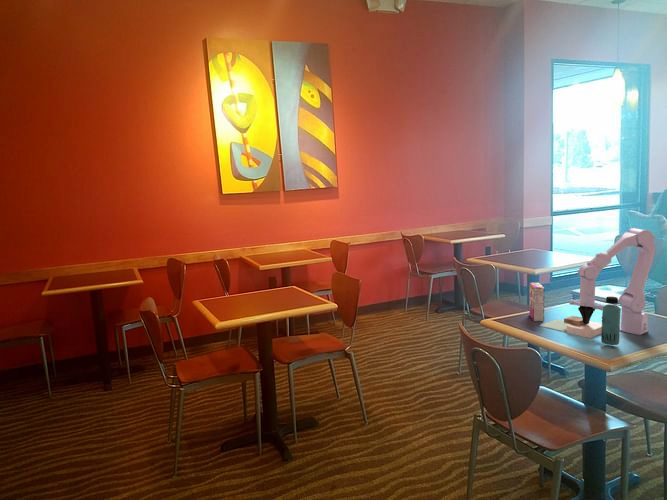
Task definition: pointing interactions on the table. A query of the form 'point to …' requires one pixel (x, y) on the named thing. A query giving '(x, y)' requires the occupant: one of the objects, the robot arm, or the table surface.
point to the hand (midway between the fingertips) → (586, 323)
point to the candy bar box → (536, 302)
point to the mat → (556, 325)
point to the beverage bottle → (611, 322)
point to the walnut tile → (574, 320)
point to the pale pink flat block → (585, 329)
